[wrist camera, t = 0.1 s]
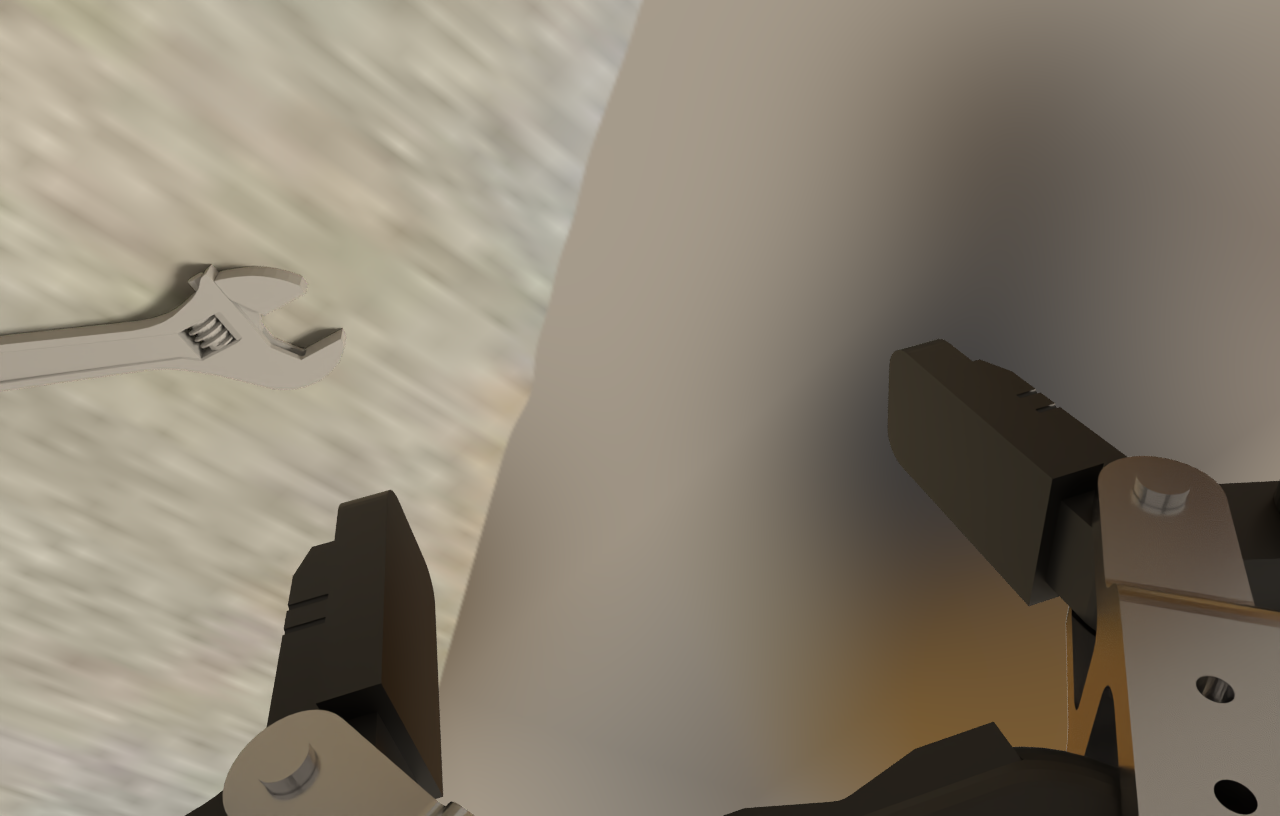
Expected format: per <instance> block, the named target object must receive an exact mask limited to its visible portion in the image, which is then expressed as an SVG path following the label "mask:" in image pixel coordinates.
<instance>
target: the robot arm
mask: <svg viewBox="0 0 1280 816" xmlns="http://www.w3.org/2000/svg"><path fill="white" fill-rule="evenodd" d="M888 399H889V400H888V437H889V441H890V445H891V448H892V451H893V453H894V455H895V457H896V459H897V461H898V462H899V464H900V465H901V466H902V467H903V468H904V470H905V471H906V472H907V473H908V474H909V475H910V476H911V477H912V478H913V479H914V480H915V482H916V483H917V484H918V485H919V486H920V487H921V488H922V489H923V490H924V492H926V494H927V495H928V496H929V497H930V498H931V499H932V500H933V501H934V502H935V504H936V505H937V506H938V507H939V508H940V509H941V510H942V511H943V512H944V513H945V515H946V516H947V517H948V518H949V519H950V520H951V521H952V522H953V523H954V524H955V525H956V527H957V528H958V529H959V530H960V531H961V532H962V533H963V534H964V535H965V537H967V539H968V540H969V541H970V542H971V543H972V544H973V545H974V546H975V547H976V549H977V550H978V551H979V552H980V553H981V554H982V555H983V556H984V557H985V559H986V560H987V561H988V562H989V563H990V564H991V565H992V566H993V567H994V568H995V570H996V571H997V572H998V573H999V574H1000V575H1001V576H1002V577H1003V578H1004V579H1005V580H1006V582H1007V583H1008V584H1009V585H1010V586H1011V587H1012V588H1013V589H1014V590H1015V591H1016V593H1017V594H1018V595H1019V596H1020V597H1021V598H1022V599H1023V600H1024V601H1025V602H1026V604H1027V605H1028V606H1031V605H1034V604H1037V603H1040V602H1043V601H1046V600H1049V599H1052V598H1055V597H1058V596H1060V597H1061V598H1062V599H1063V600H1064V601H1065V602H1066V603H1067V604H1068V605H1069V608H1068V613H1067V618H1066V650H1067V651H1066V652H1067V653H1066V654H1067V698H1068V699H1067V700H1068V738H1067V749H1066V751H1060V750H1054V749H1047V748H1036V747H1012V746H1011V745H1010V743H1009V742H1008V741H1007V739H1006V738H1005V737H1004V735H1003V734H1002V733H1001V731H1000V730H999V728H998V727H997V726H996V724H995V723H994V722H991V723H989V724H986V725H983V726H980V727H977V728H974V729H971V730H969V731H966V732H963V733H960V734H957V735H954V736H951V737H948V738H945V739H942V740H940V741H937V742H934V743H931V744H928V745H925V746H922V747H920V748H917V749H914V750H913V751H912V752H910V753H909V754H907V755H906V756H905V757H903V758H902V759H900V760H899V761H898V762H896V763H895V764H893V765H892V766H891V767H889V768H888V769H886V770H885V771H884V772H882V773H881V774H880V775H878V776H877V777H875V778H874V779H873V780H871V781H870V782H868V783H867V784H866V785H864V786H863V787H861V788H860V789H859V790H857V791H856V792H854V793H853V794H852V795H850V796H848V797H847V798H845V799H842V800H840V801H834V802H824V803H810V804H796V805H783V806H769V807H755V808H744V809H741V810H738V811H735V812H733V813H730V814H727V815H724V816H1280V481H1269V482H1250V483H1229V484H1218V483H1217V482H1216V481H1215V480H1214V479H1213V478H1211V477H1210V476H1208V475H1207V474H1206V473H1204V472H1202V471H1200V470H1199V469H1197V468H1195V467H1192V466H1190V465H1188V464H1185V463H1182V462H1179V461H1176V460H1172V459H1168V458H1162V457H1156V456H1132V457H1127V456H1125V455H1124V454H1123V453H1121V452H1120V451H1118V450H1117V449H1116V448H1115V447H1113V446H1112V445H1111V444H1109V443H1108V442H1106V441H1105V440H1104V439H1102V438H1101V437H1100V436H1098V435H1097V434H1096V433H1094V432H1093V431H1092V430H1090V429H1089V428H1088V427H1086V426H1085V425H1084V424H1082V423H1081V422H1079V421H1078V420H1077V419H1075V418H1074V417H1073V416H1071V415H1070V414H1069V413H1067V412H1066V411H1065V410H1063V409H1062V408H1060V407H1059V408H1056V406H1055V403H1054V402H1052V401H1051V400H1050V399H1048V398H1047V397H1046V396H1044V395H1043V394H1041V393H1037V392H1036V389H1035V388H1033V387H1032V386H1031V385H1029V384H1028V383H1027V382H1026V381H1024V380H1023V379H1021V378H1020V377H1019V376H1017V375H1016V374H1015V373H1013V372H1012V371H1009V370H1006V369H1004V368H1001V367H999V366H996V365H993V364H990V363H988V362H985V361H982V360H976V361H971V360H970V359H969V358H968V357H966V356H965V355H964V354H963V353H961V352H960V351H959V350H957V349H956V348H955V347H953V346H952V345H951V344H950V343H948V342H947V341H945V340H943V339H937V340H933V341H929V342H926V343H922V344H919V345H916V346H912V347H908V348H904V349H901V350H897V351H895V352H894V353H893V354H892V356H891V359H890V365H889V396H888ZM288 607H289V611H287V613H286V619H285V625H284V631H285V635H283V636H282V642H281V648H280V654H279V659H278V665H277V671H276V677H275V683H274V688H273V694H272V700H271V706H270V711H269V717H268V723H267V727H266V729H264V730H263V731H262V732H260V733H259V734H258V735H257V736H256V737H255V738H253V739H252V740H251V741H250V742H249V743H248V744H247V745H246V747H245V748H244V749H243V750H242V751H241V752H240V754H239V755H238V757H237V758H236V760H235V761H234V763H233V764H232V766H231V768H230V770H229V772H228V775H227V778H226V780H225V783H224V789H223V791H221V792H220V793H219V794H218V795H216V796H215V797H214V798H212V799H211V800H209V801H208V802H206V803H205V804H203V805H202V806H200V807H198V808H197V809H195V810H193V811H192V812H190V813H188V814H187V815H185V816H474V815H473V814H471V813H470V812H469V811H468V810H466V809H465V808H464V807H462V806H460V805H459V804H457V803H454V802H450V803H449V804H448V805H447V806H444V805H442V804H441V803H439V802H438V801H437V800H436V799H437V798H440V797H443V783H442V760H441V734H440V710H439V687H438V663H437V639H436V615H435V598H434V592H433V586H432V582H431V578H430V574H429V571H428V568H427V565H426V563H425V560H424V558H423V555H422V553H421V551H420V549H419V546H418V544H417V542H416V539H415V537H414V535H413V532H412V530H411V528H410V526H409V523H408V521H407V519H406V516H405V514H404V512H403V509H402V507H401V505H400V503H399V500H398V498H397V496H396V495H395V493H394V492H393V491H392V490H388V491H384V492H381V493H377V494H374V495H370V496H366V497H363V498H359V499H356V500H352V501H348V502H345V503H341V504H340V505H339V508H338V515H337V524H336V533H335V541H332V542H328V543H325V544H321V545H318V546H314V547H312V548H311V549H310V551H309V552H308V554H307V555H306V557H305V559H304V560H303V562H302V563H301V565H300V566H299V568H298V569H297V571H296V572H295V574H294V575H293V579H292V585H291V590H290V596H289V602H288Z"/></svg>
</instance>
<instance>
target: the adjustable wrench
mask: <svg viewBox="0 0 1280 816" xmlns="http://www.w3.org/2000/svg"><path fill="white" fill-rule="evenodd" d="M187 282H188V283H189V284H190V285H191V286H192V288H193V289H194V290H195V291H196V292H195V293H193V294H192V295H191V296H190V297H189V298H188V299H187V300H186V301H185V302H184V303H182V304H181V305H180V306H179V307H177V308H176V309H174V310H172V311H171V312H169V313H166V314H163V315H160V316H158V317H154V318H150V319H145V320H140V321H131V322H121V323H112V324H103V325H94V326H84V327H75V328H66V329H56V330H47V331H38V332H29V333H19V334H10V335H1V336H0V392H1V391H8V390H15V389H22V388H29V387H36V386H43V385H50V384H57V383H64V382H71V381H78V380H85V379H92V378H99V377H106V376H113V375H120V374H127V373H134V372H141V371H147V370H161V369H172V370H185V371H192V372H198V373H204V374H210V375H216V376H221V377H226V378H231V379H235V380H239V381H243V382H247V383H250V384H254V385H258V386H262V387H266V388H270V389H278V390H290V389H299V388H304V387H307V386H309V385H312V384H314V383H317V382H319V381H320V380H322V379H323V378H325V377H326V376H327V375H329V374H330V372H331V371H332V370H333V369H334V368H335V367H336V366H337V365H338V364H339V362H340V359H341V357H342V354H343V351H344V349H345V343H346V333H345V331H344V329H343V328H342V329H340V330H339V331H337V332H335V333H333V334H331V335H329V336H328V337H326V338H324V339H322V340H320V341H318V342H316V343H315V344H313V345H311V346H309V347H307V348H305V349H302V348H300V347H297V346H295V345H292V344H290V343H288V342H285V341H283V340H280V339H278V338H276V337H274V336H273V335H272V334H271V333H270V331H269V330H268V329H267V328H266V326H265V325H264V324H263V322H262V315H264V316H265V315H267V314H269V313H271V312H273V311H275V310H277V309H278V308H280V307H282V306H284V305H286V304H288V303H290V302H291V301H293V300H295V299H297V298H299V297H301V296H303V295H304V294H306V291H307V287H308V283H307V281H306V280H305V279H304V277H303V276H301V275H298V274H295V273H293V272H290V271H286V270H282V269H277V268H271V267H258V266H253V267H241V268H234V269H229V270H224V271H221V272H218V271H217V270H216V268H215V267H214V266H213V265H212V264H211V265H210V266H209V267H208V268H207V269H206V270H205V272H204V274H203V273H202V272H201V273H199V274H196V275H195V276H193V277H192V278H190V279H189V280H188V281H187ZM189 327H192V328H193V329H192V330H191V331H189V330H188V329H187V328H189ZM195 334H198V336H197V337H196V338H195V337H194V336H193V335H195ZM201 340H203V341H204V342H203V343H202V344H201V343H200V342H199V341H201ZM208 346H209V347H208ZM206 347H208V348H207V349H206Z"/></svg>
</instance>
